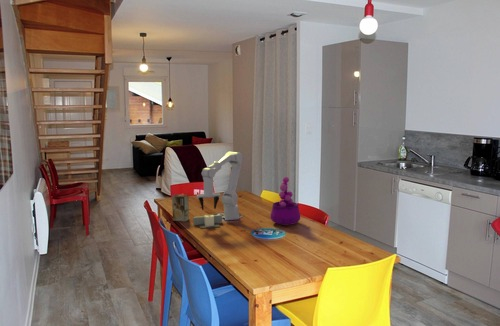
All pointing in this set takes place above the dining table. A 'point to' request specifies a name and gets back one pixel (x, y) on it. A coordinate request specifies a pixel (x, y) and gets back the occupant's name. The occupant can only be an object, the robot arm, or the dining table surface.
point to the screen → (201, 221)
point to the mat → (209, 226)
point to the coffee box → (180, 207)
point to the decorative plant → (285, 207)
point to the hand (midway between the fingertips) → (208, 208)
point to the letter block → (209, 220)
